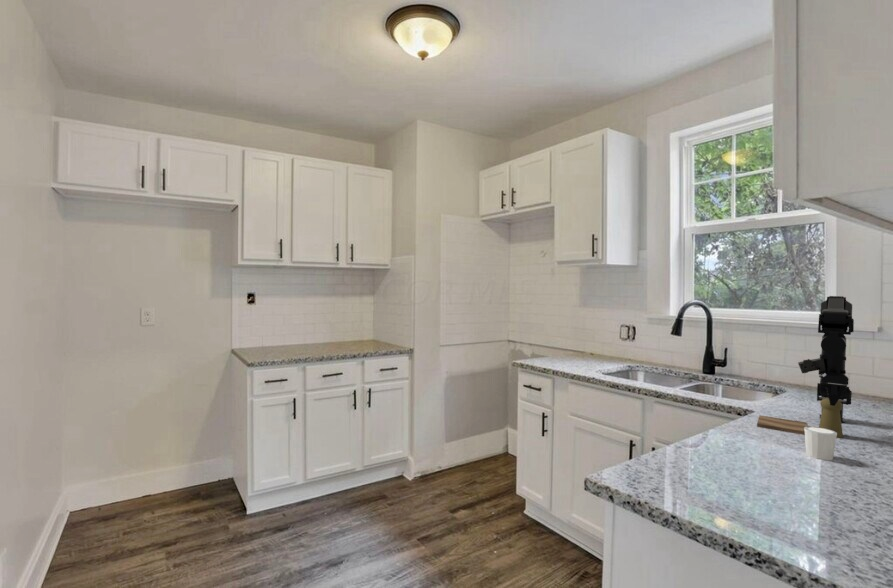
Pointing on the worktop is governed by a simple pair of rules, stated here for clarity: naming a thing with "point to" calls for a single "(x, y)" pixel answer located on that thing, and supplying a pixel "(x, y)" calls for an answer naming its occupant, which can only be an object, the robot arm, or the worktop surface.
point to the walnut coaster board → (781, 424)
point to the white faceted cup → (820, 442)
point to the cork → (831, 417)
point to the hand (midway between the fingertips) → (831, 402)
